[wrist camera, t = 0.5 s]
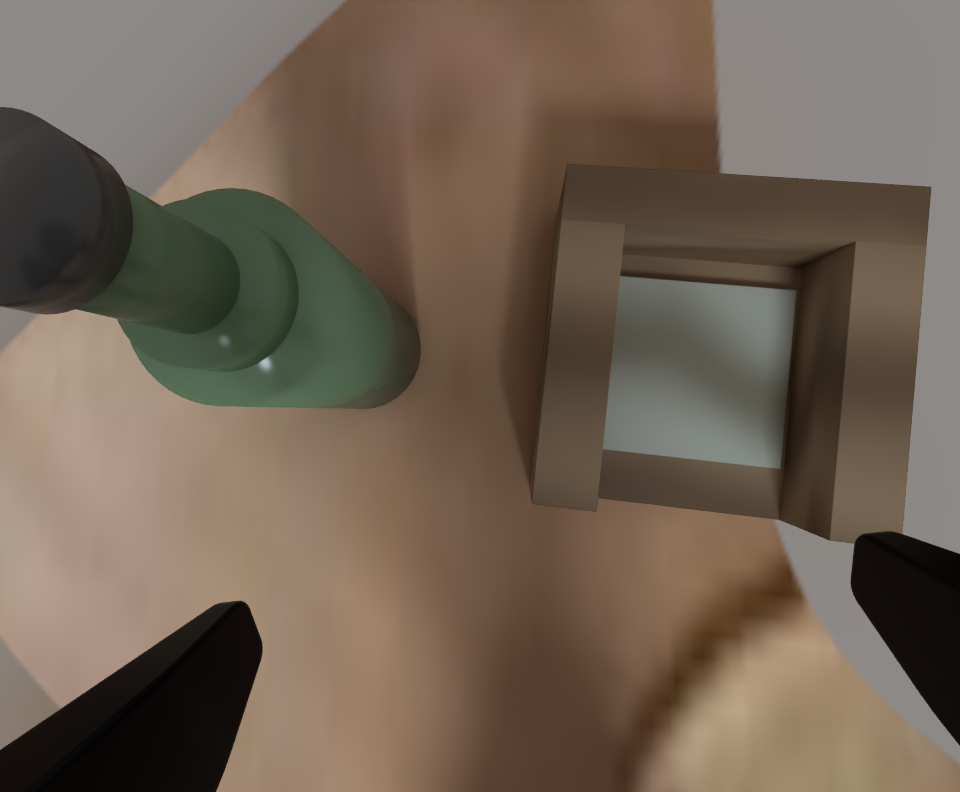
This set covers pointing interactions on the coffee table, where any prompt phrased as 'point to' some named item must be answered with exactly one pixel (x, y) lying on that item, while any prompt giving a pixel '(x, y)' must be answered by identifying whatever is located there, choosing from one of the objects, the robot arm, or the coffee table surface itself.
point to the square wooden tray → (732, 346)
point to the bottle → (196, 281)
